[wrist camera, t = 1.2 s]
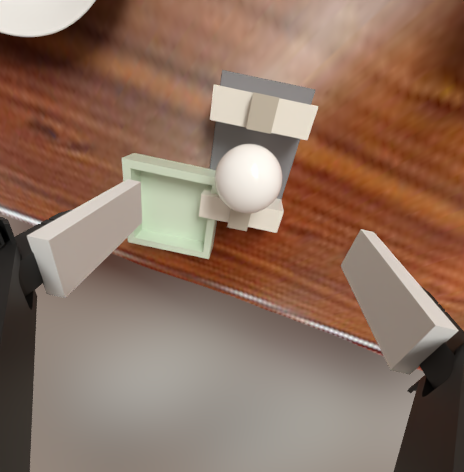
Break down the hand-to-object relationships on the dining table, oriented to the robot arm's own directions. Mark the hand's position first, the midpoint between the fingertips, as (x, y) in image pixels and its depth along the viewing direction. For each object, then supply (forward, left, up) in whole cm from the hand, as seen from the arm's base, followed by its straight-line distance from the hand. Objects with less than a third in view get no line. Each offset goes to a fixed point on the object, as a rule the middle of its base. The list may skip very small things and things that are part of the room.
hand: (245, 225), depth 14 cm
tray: (-9, -8, -17) cm, 21 cm away
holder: (0, 0, -17) cm, 17 cm away
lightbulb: (0, 0, -17) cm, 17 cm away
